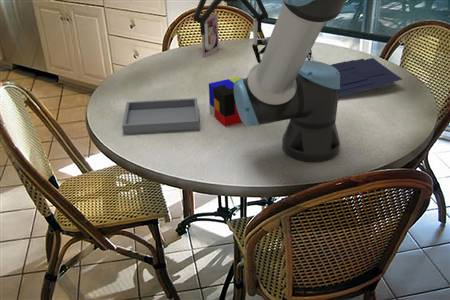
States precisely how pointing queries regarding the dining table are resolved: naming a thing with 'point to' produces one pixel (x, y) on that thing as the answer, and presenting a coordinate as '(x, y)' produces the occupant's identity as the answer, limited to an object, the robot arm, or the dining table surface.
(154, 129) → the tray
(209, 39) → the greeting card
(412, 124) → the dining table surface
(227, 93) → the puzzle toy
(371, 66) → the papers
